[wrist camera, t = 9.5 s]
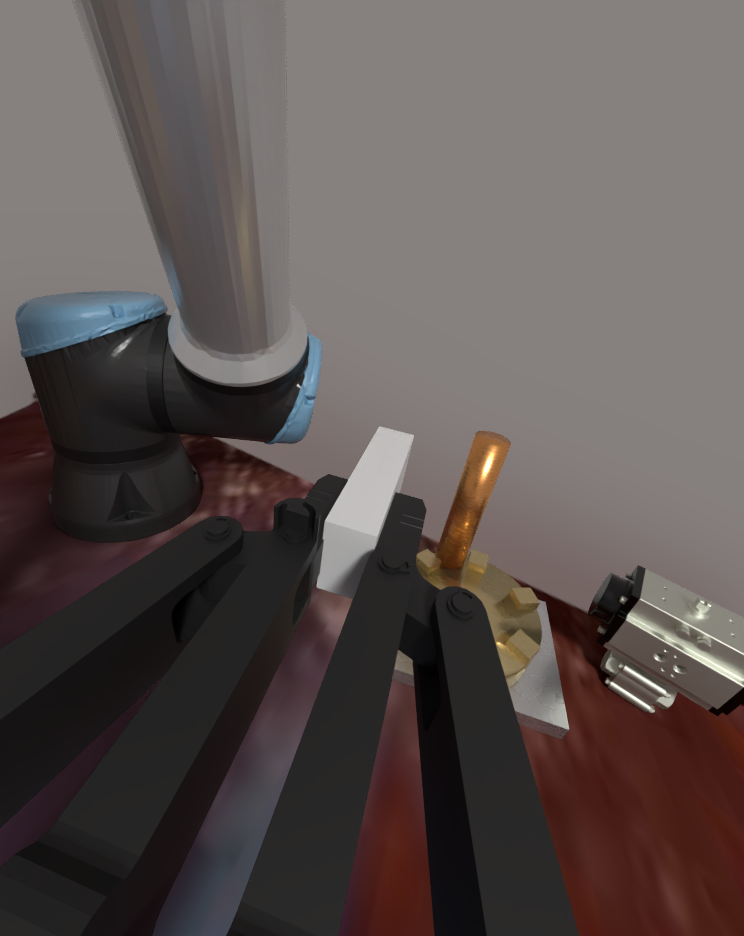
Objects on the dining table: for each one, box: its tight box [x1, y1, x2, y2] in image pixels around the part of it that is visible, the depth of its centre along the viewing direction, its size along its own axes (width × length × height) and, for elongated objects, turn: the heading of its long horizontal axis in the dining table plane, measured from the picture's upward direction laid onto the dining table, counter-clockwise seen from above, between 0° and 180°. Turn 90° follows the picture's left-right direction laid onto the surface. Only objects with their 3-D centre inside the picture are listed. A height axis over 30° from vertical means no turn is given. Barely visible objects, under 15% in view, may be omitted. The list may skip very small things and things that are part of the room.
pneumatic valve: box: [588, 565, 744, 716], centre depth 32 cm, size 6×12×12 cm, turn 51°
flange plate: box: [392, 600, 569, 739], centre depth 36 cm, size 18×13×2 cm
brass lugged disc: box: [416, 431, 542, 687], centre depth 32 cm, size 14×13×17 cm
